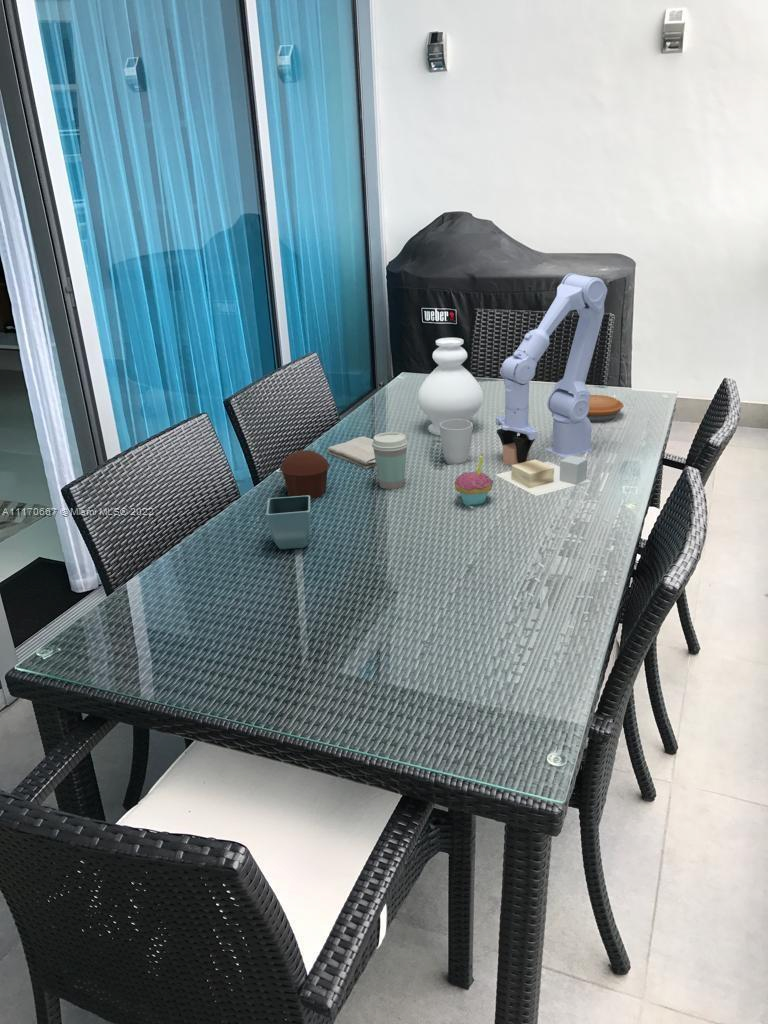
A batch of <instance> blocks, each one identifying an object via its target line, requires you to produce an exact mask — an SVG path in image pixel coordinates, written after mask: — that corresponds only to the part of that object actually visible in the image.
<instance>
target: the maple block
mask: <svg viewBox="0 0 768 1024" xmlns="http://www.w3.org/2000/svg"><path fill="white" fill-rule="evenodd" d="M511 471H512V473H511V479H512V480H514V481H516V482H518V483H520V484H522V485H524V486H526V487H528V488H533V487H537V486H540V485H544V484H548V483H552V482H554V468H553V467H551V466H549V465H547V464H544V462H542V461H540V460H538V459H531V460H528V461H527V462H523V463H519V464H515V465H512V466H511Z"/></svg>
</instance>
